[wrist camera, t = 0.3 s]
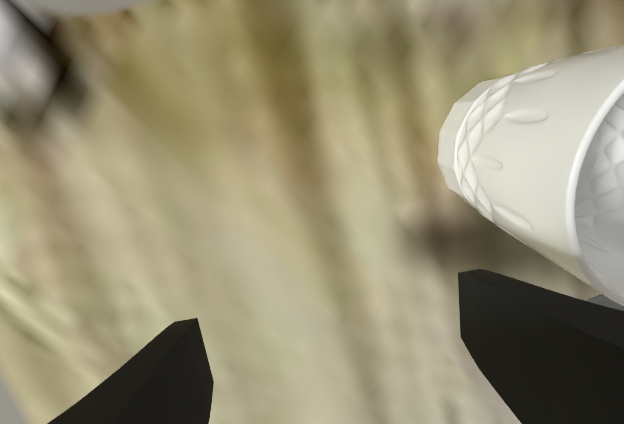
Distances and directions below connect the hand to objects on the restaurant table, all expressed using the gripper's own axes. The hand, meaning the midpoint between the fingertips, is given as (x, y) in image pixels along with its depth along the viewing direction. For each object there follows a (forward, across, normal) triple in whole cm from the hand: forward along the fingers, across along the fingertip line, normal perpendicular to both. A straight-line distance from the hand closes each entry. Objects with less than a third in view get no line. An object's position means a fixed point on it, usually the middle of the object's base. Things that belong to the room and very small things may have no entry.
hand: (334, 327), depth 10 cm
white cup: (+10, -10, -2) cm, 15 cm away
